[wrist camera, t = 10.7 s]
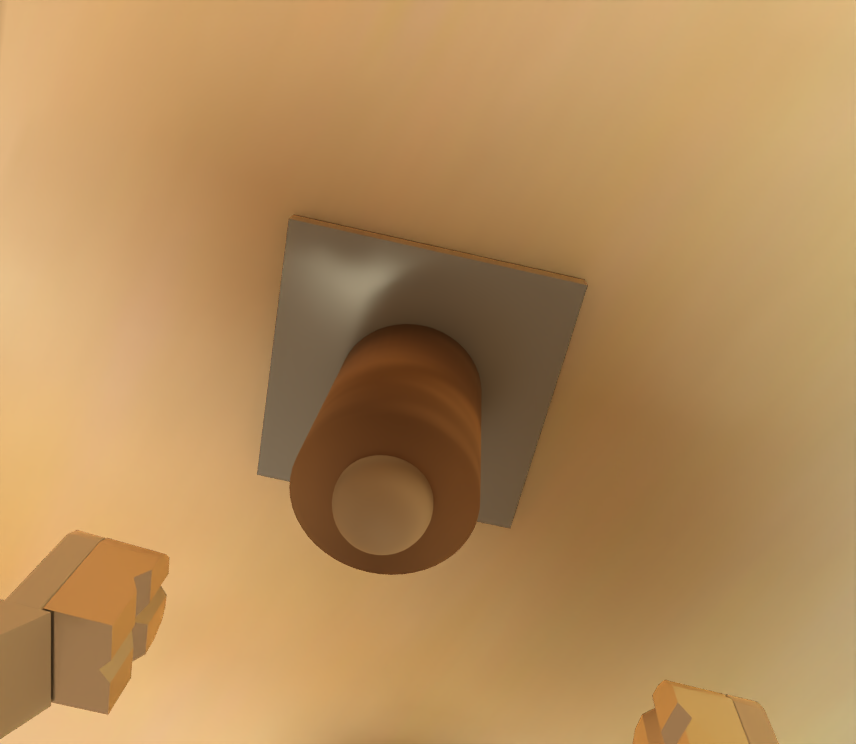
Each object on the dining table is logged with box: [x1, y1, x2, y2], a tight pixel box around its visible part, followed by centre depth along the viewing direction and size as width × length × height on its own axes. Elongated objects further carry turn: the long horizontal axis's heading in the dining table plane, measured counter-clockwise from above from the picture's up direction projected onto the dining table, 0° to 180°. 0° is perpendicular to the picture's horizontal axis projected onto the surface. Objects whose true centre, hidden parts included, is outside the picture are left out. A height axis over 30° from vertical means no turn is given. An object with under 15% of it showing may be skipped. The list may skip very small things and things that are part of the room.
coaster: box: [257, 215, 588, 528], centre depth 22 cm, size 9×9×1 cm
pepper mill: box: [290, 324, 482, 575], centre depth 18 cm, size 5×5×7 cm
